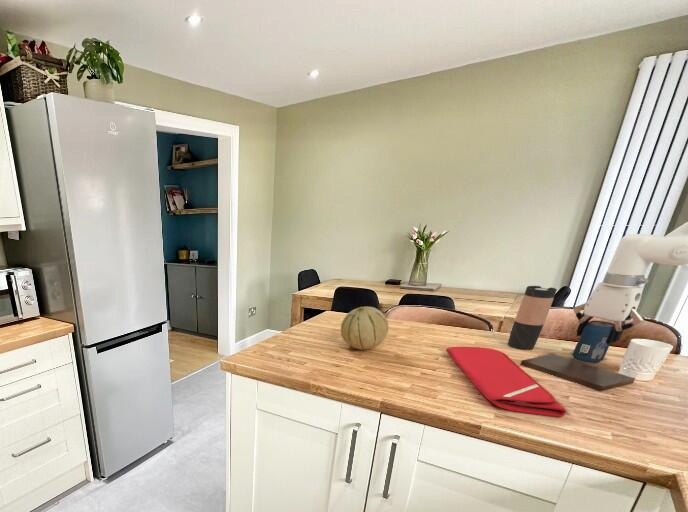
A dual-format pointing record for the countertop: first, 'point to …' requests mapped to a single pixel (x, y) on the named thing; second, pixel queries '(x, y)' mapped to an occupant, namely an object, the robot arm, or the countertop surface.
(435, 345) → the countertop surface
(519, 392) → the red folded napkin
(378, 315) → the cantaloupe
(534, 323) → the travel mug
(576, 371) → the serving board
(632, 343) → the white cup
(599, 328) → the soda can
